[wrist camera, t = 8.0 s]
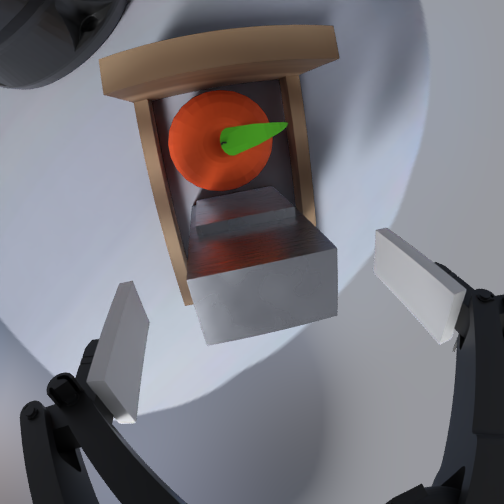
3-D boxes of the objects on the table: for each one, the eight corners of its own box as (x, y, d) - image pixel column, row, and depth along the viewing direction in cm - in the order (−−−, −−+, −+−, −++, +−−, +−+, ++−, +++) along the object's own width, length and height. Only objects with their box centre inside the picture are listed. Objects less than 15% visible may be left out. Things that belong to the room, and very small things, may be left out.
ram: (190, 199, 24) (182, 268, 13) (275, 182, 24) (336, 236, 13) (202, 250, 26) (207, 345, 15) (282, 234, 26) (337, 315, 15)
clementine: (261, 81, 21) (285, 66, 14) (283, 162, 24) (314, 178, 17) (161, 111, 20) (145, 106, 14) (188, 192, 23) (184, 219, 17)
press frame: (135, 80, 19) (98, 59, 11) (287, 55, 20) (333, 25, 12) (185, 293, 27) (183, 362, 19) (311, 266, 28) (352, 323, 20)
